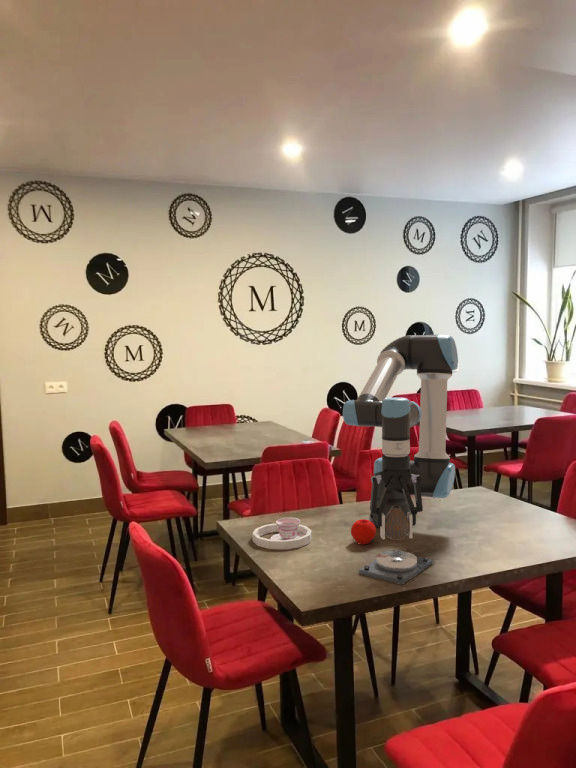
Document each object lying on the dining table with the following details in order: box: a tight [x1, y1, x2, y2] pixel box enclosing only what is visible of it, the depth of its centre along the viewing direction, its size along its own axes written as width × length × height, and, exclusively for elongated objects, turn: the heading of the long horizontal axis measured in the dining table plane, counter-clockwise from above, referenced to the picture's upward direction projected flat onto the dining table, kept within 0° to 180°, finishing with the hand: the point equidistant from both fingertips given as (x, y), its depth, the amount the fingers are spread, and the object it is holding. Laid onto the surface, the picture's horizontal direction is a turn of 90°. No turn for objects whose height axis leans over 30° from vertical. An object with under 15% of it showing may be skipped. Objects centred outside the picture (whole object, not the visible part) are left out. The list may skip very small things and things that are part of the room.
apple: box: [350, 518, 377, 546], centre depth 191 cm, size 8×8×7 cm
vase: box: [385, 506, 409, 541], centre depth 168 cm, size 7×7×9 cm
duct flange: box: [358, 549, 434, 585], centre depth 169 cm, size 13×18×3 cm
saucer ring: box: [251, 523, 313, 550], centre depth 196 cm, size 18×18×2 cm
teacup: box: [269, 516, 304, 540], centre depth 195 cm, size 12×12×6 cm
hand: (396, 537), depth 169 cm, fingers closed on vase, 7 cm apart
